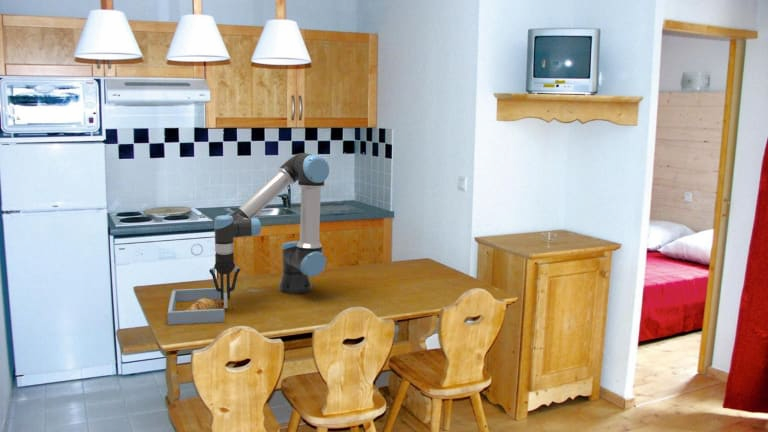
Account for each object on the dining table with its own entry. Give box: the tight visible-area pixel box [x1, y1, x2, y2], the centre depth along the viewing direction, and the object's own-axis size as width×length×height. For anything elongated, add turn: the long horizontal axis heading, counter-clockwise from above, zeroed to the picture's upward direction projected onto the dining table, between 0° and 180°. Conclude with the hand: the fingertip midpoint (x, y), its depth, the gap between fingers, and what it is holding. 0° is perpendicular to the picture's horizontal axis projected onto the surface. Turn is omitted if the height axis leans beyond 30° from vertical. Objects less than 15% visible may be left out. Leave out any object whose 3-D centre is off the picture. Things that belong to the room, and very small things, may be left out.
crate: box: [167, 287, 226, 326], centre depth 296 cm, size 22×33×5 cm, turn 13°
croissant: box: [185, 298, 224, 311], centre depth 292 cm, size 21×10×8 cm, turn 143°
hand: (225, 306), depth 298 cm, fingers closed
